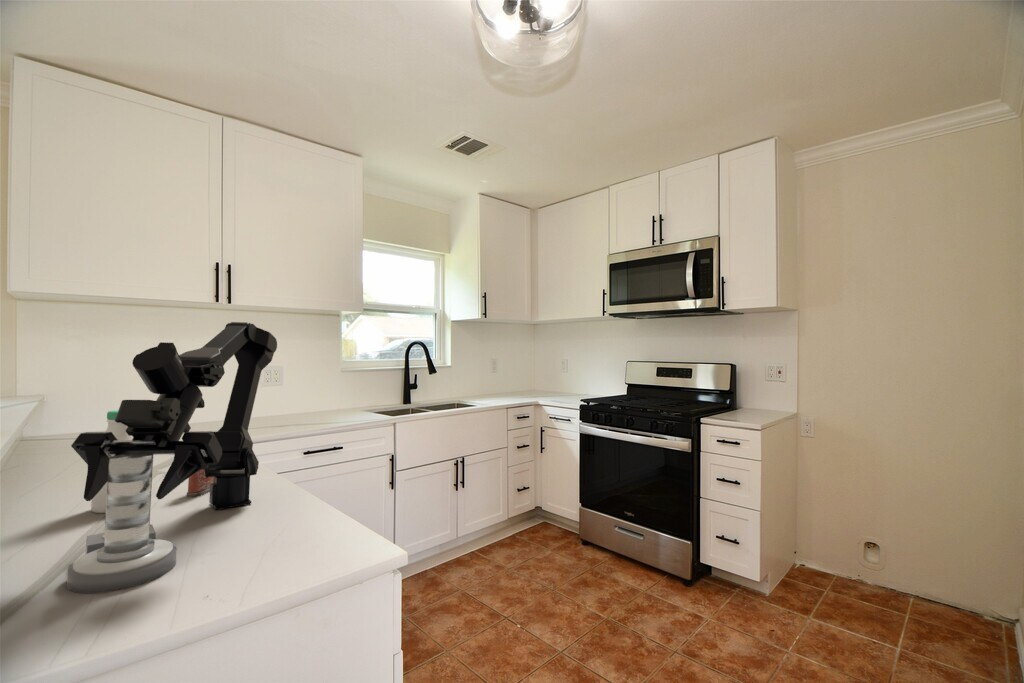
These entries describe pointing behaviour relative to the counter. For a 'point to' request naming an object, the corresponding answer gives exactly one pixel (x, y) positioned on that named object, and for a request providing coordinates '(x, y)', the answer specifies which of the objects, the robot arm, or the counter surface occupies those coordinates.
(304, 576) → the counter surface
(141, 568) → the kitchen scale
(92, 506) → the milk bottle
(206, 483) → the lighter
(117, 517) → the disc
